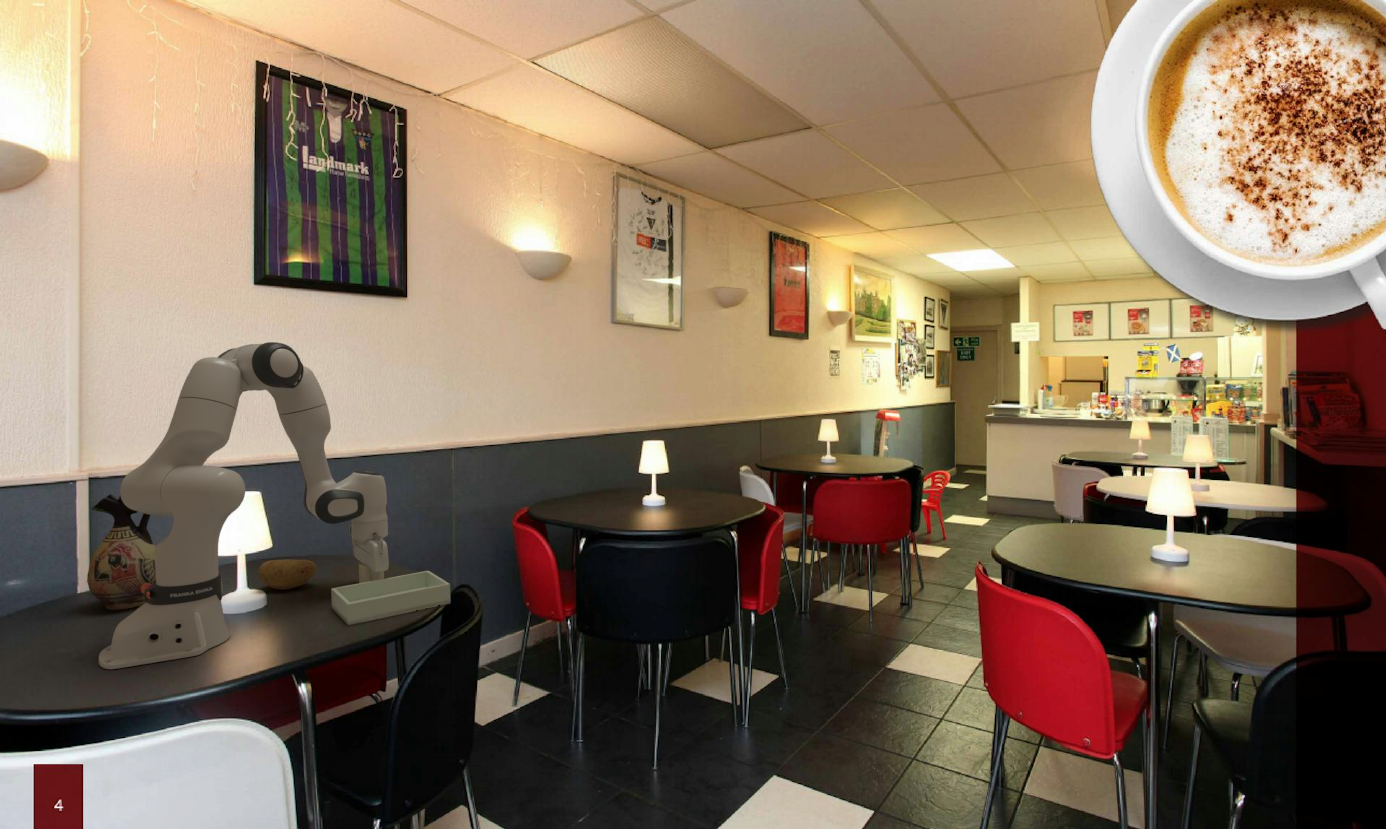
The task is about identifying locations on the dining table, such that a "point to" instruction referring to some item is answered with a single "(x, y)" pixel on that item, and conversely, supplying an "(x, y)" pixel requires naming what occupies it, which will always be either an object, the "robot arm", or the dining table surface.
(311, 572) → the potato
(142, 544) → the ceramic jug
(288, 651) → the dining table surface
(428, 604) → the tote
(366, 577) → the carton
